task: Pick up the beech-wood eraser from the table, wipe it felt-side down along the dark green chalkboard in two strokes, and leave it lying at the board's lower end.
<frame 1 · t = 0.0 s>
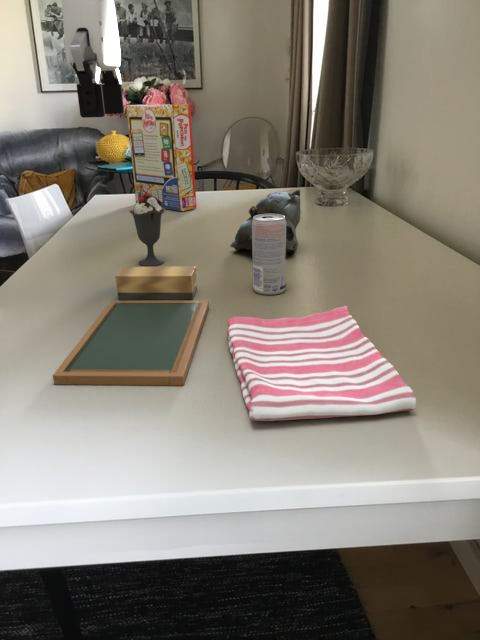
hand: (103, 115, 79), 28 cm above the table, tool pointing down, fingers open, 9 cm apart
energy drink: (269, 291, 92), on the table
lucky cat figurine: (267, 251, 115), on the table
dish towel: (307, 371, 66), on the table
eraser: (158, 294, 92), on the table
board game: (165, 206, 160), on the table
sundae: (151, 263, 109), on the table
chalkboard: (142, 340, 75), on the table
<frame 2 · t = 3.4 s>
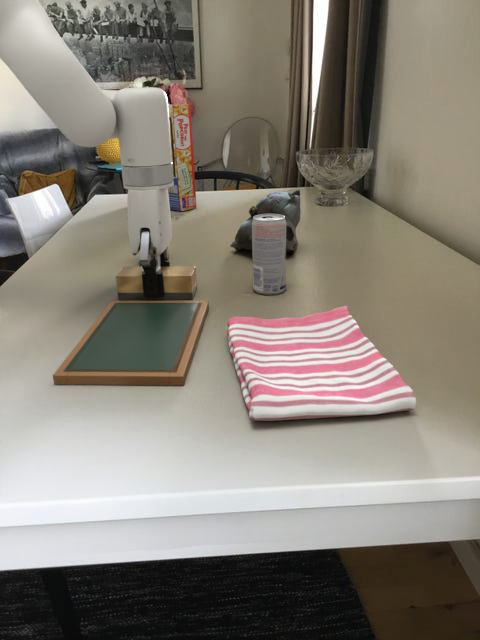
hand: (158, 289, 92), 1 cm above the table, tool pointing down, fingers closed on eraser, 5 cm apart
eraser: (158, 294, 92), on the table, touching gripper
everything else where it was.
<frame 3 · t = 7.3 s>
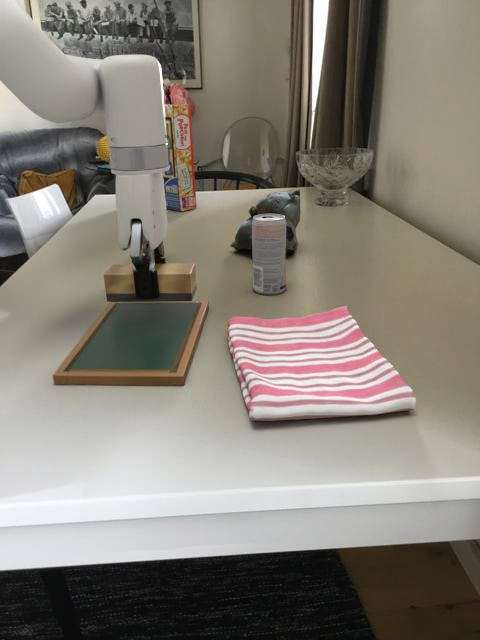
hand: (152, 290, 80), 4 cm above the table, tool pointing down, fingers closed on eraser, 5 cm apart
eraser: (153, 295, 81), point 4 cm above the table, touching gripper
everything else where it was.
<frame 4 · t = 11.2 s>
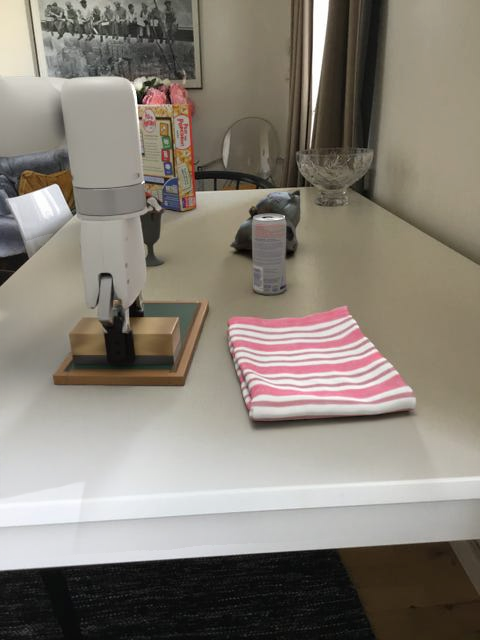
hand: (127, 350, 68), 2 cm above the table, tool pointing down, fingers closed on eraser, 5 cm apart
eraser: (128, 355, 68), point 1 cm above the table, touching gripper
everything else where it was.
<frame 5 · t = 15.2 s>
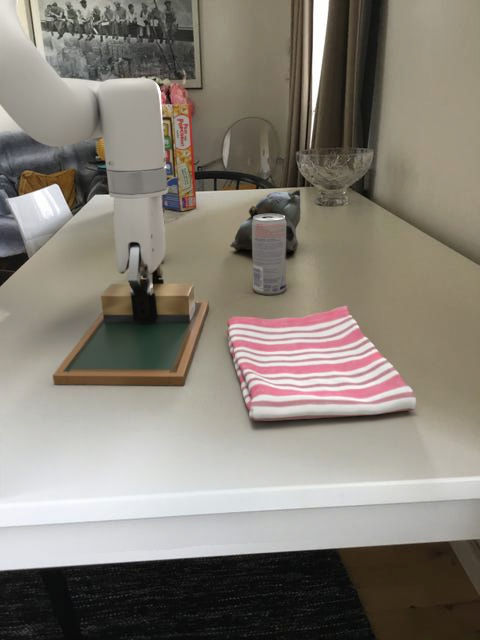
hand: (150, 311, 80), 2 cm above the table, tool pointing down, fingers closed on eraser, 5 cm apart
eraser: (150, 316, 80), point 1 cm above the table, touching gripper
everything else where it was.
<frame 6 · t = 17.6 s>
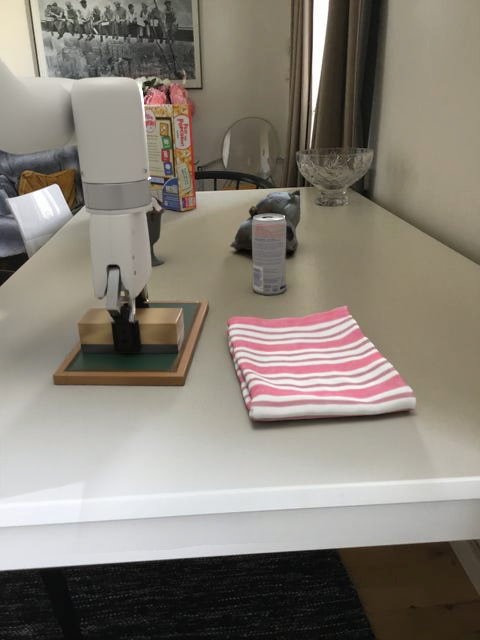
hand: (133, 339, 71), 2 cm above the table, tool pointing down, fingers closed on eraser, 5 cm apart
eraser: (134, 344, 71), point 1 cm above the table, touching gripper
everything else where it was.
when the fingers open (2 cm above the table, at t = 18.9 s): eraser stays where it is, resting on chalkboard.
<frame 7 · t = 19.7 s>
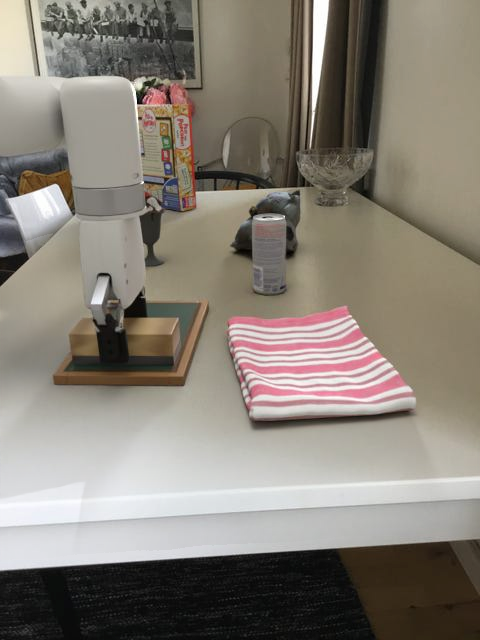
hand: (126, 343, 68), 3 cm above the table, tool pointing down, fingers open, 9 cm apart
eraser: (128, 355, 68), point 1 cm above the table, touching chalkboard
everything else where it was.
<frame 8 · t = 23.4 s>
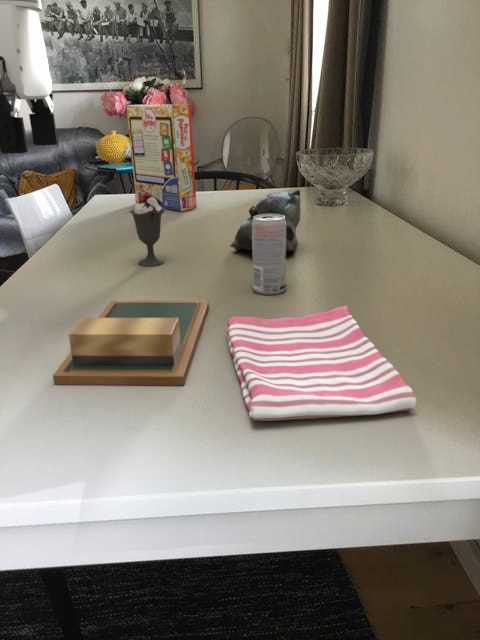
hand: (31, 148, 72), 24 cm above the table, tool pointing down, fingers open, 9 cm apart
nothing on the table moved.
at the end: eraser 0.1 cm from the target spot on the chalkboard, point 1.2 cm above the chalkboard's base; eraser moved 25.0 cm from its start; the gripper is holding nothing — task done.
